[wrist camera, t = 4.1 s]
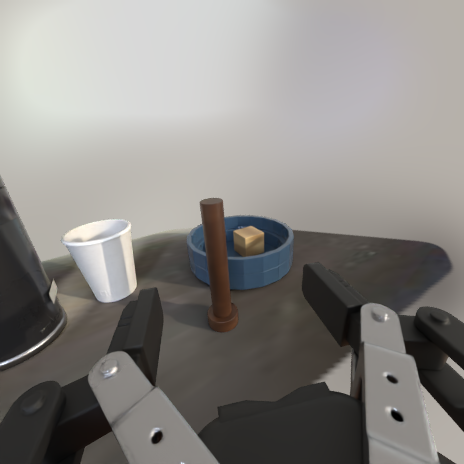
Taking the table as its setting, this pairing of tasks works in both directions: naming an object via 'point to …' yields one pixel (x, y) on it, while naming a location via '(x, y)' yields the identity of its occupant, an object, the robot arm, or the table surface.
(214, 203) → the cylinder
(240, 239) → the wooden block
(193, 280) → the table surface
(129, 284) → the dixie cup
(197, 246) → the bowl
